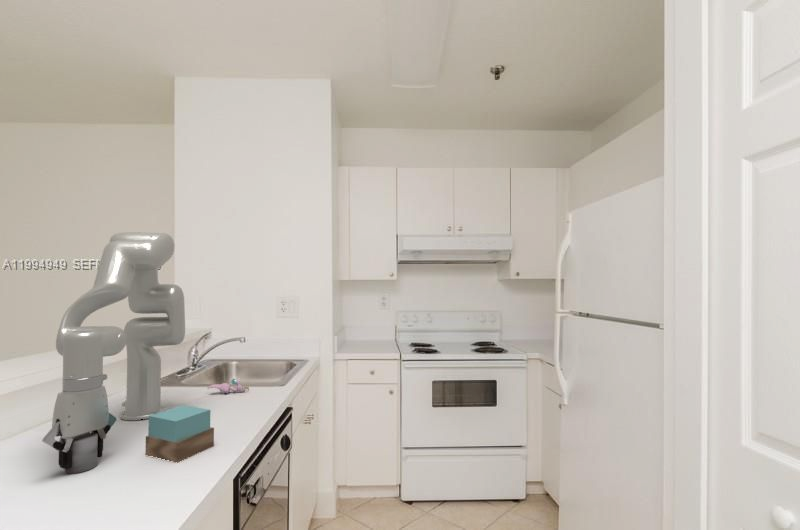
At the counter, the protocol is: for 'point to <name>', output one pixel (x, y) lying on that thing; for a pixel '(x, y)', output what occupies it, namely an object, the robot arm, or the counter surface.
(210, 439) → the walnut base block
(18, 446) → the counter surface
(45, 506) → the counter surface
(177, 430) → the teal top block
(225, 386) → the pink patterned figure
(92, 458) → the charcoal cylinder
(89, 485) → the counter surface
